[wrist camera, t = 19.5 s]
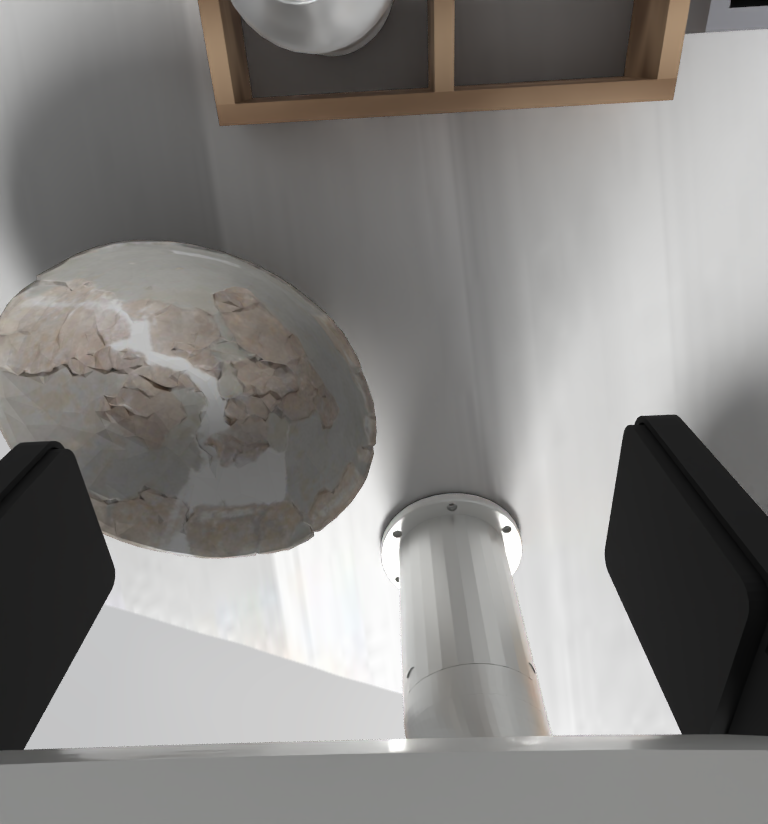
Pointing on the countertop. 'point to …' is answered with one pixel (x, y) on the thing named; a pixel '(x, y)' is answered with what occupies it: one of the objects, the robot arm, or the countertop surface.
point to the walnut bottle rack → (447, 73)
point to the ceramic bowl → (189, 397)
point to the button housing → (724, 17)
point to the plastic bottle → (316, 23)
